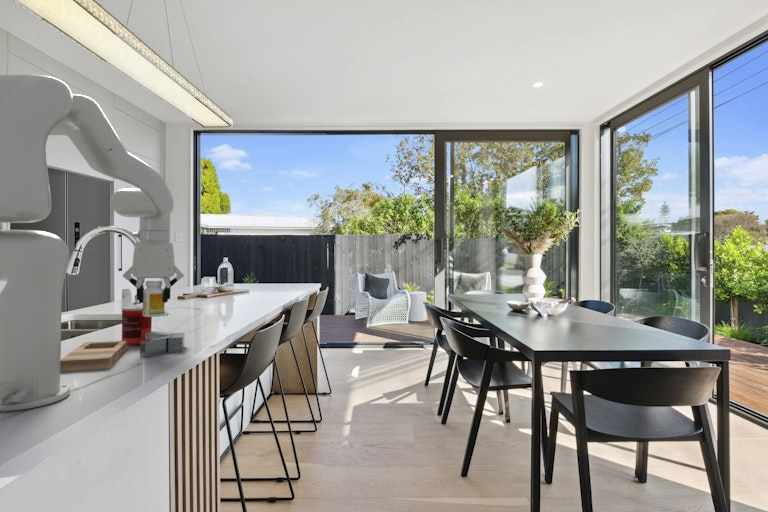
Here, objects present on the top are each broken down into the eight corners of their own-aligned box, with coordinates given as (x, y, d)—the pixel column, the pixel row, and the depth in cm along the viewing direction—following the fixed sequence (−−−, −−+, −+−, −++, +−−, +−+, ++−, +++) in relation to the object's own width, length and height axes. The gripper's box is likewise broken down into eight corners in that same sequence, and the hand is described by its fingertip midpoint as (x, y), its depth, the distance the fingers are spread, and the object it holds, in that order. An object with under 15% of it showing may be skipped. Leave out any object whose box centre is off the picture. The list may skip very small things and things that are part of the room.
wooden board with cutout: (109, 368, 100) (109, 358, 100) (58, 372, 96) (58, 361, 96) (127, 349, 118) (127, 340, 118) (85, 351, 115) (85, 342, 115)
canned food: (148, 339, 131) (149, 304, 131) (153, 344, 125) (154, 307, 125) (119, 342, 126) (120, 306, 126) (123, 347, 120) (124, 309, 120)
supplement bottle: (168, 314, 120) (169, 280, 120) (156, 317, 115) (157, 282, 115) (150, 313, 121) (151, 280, 121) (137, 316, 115) (138, 281, 115)
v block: (139, 357, 110) (139, 342, 110) (148, 344, 124) (149, 331, 124) (180, 355, 113) (181, 340, 113) (185, 343, 128) (185, 329, 128)
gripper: (116, 236, 111) (115, 304, 111) (187, 238, 117) (186, 303, 117) (122, 236, 118) (121, 301, 118) (189, 238, 124) (188, 299, 124)
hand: (153, 301), depth 118 cm, fingers closed on supplement bottle, 5 cm apart
